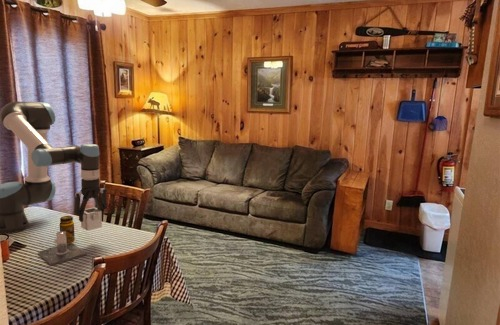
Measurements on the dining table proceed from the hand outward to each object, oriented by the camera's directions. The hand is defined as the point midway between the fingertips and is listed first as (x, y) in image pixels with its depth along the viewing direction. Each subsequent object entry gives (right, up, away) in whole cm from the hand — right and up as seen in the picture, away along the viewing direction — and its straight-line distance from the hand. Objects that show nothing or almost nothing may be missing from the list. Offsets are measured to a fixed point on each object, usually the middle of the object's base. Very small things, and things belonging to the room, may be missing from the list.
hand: (91, 225), depth 155 cm
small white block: (0, 0, 0) cm, 0 cm away
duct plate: (-8, -11, -11) cm, 17 cm away
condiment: (-14, -8, +3) cm, 16 cm away
